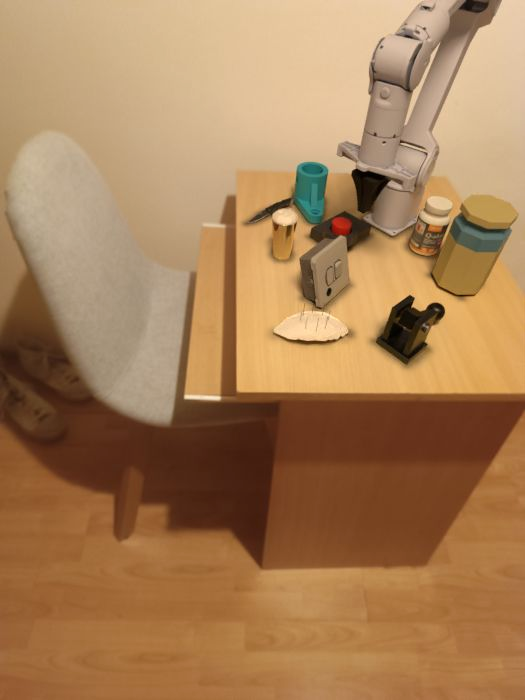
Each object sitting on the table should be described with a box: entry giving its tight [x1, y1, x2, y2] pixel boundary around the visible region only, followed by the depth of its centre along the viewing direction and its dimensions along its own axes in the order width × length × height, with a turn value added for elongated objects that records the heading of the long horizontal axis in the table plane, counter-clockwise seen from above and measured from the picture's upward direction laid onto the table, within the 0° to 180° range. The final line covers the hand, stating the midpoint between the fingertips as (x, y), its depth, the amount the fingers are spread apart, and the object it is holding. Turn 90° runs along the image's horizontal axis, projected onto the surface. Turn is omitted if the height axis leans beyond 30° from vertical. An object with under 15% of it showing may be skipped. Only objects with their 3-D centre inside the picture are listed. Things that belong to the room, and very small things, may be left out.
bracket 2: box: [375, 294, 438, 365], centre depth 70 cm, size 5×6×8 cm
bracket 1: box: [293, 161, 329, 224], centre depth 96 cm, size 6×12×7 cm, turn 6°
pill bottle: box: [409, 195, 454, 257], centre depth 87 cm, size 6×6×10 cm
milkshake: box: [271, 198, 299, 261], centre depth 84 cm, size 4×5×10 cm
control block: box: [309, 210, 372, 249], centre depth 90 cm, size 11×9×4 cm
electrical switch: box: [298, 235, 350, 309], centre depth 78 cm, size 9×5×9 cm, turn 141°
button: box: [331, 217, 352, 236], centre depth 87 cm, size 4×4×2 cm
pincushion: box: [273, 298, 350, 342], centre depth 72 cm, size 12×6×6 cm, turn 93°
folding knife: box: [247, 197, 295, 224], centre depth 97 cm, size 13×1×2 cm
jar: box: [431, 194, 520, 295], centre depth 79 cm, size 9×9×15 cm
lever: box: [398, 302, 446, 331], centre depth 72 cm, size 12×3×3 cm, turn 132°
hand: (364, 210), depth 80 cm, fingers closed
